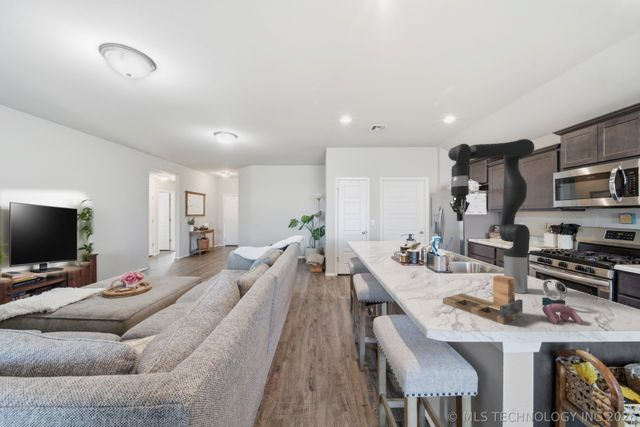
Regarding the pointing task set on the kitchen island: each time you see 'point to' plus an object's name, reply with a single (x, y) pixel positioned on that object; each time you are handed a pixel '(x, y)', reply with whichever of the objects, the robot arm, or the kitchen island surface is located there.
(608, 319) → the kitchen island surface
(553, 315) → the pink arched figurine
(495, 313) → the board
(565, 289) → the watch
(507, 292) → the block
